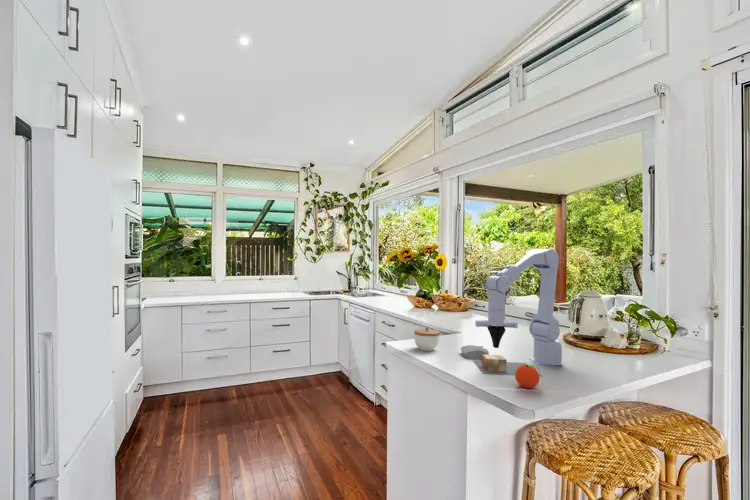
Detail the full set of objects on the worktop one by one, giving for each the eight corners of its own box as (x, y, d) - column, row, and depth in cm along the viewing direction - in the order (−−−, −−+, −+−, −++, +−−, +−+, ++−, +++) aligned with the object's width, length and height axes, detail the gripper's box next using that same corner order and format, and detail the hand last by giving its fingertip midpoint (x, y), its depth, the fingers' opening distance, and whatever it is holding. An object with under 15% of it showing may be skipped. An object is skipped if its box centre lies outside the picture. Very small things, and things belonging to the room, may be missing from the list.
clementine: (533, 383, 117) (534, 361, 117) (547, 391, 110) (547, 367, 110) (510, 384, 115) (511, 361, 115) (522, 392, 108) (523, 368, 109)
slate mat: (525, 363, 139) (525, 362, 139) (543, 377, 123) (543, 376, 123) (472, 361, 140) (472, 360, 140) (483, 374, 124) (483, 373, 124)
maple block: (501, 355, 134) (482, 354, 134) (506, 359, 128) (486, 358, 128) (501, 366, 134) (481, 365, 134) (506, 371, 128) (486, 370, 128)
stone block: (466, 365, 142) (491, 360, 142) (464, 352, 142) (489, 348, 142) (459, 357, 154) (482, 353, 154) (457, 346, 154) (480, 342, 154)
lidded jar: (429, 345, 164) (430, 324, 164) (444, 351, 154) (444, 328, 154) (409, 347, 159) (409, 325, 159) (422, 353, 149) (423, 330, 150)
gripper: (513, 308, 135) (512, 345, 135) (473, 307, 135) (472, 343, 135) (520, 311, 128) (519, 350, 128) (478, 309, 128) (477, 348, 128)
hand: (495, 347), depth 131 cm, fingers closed
